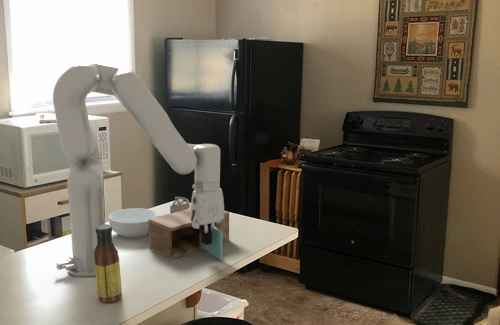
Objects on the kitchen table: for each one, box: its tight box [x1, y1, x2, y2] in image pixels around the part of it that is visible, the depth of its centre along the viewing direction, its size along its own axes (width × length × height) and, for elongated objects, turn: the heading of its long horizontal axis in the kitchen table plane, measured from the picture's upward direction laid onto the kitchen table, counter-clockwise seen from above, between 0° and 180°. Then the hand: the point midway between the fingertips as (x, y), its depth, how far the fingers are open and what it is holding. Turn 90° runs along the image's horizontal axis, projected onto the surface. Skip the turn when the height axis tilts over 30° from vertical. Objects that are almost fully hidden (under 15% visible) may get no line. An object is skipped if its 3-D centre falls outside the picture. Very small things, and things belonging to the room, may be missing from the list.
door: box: [202, 227, 225, 260], centre depth 177 cm, size 12×2×9 cm, turn 33°
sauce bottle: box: [94, 223, 123, 304], centre depth 145 cm, size 7×6×20 cm
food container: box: [169, 196, 191, 214], centre depth 201 cm, size 12×6×10 cm, turn 179°
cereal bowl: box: [108, 207, 159, 239], centre depth 195 cm, size 17×17×7 cm
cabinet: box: [148, 207, 230, 259], centre depth 185 cm, size 24×12×10 cm, turn 134°
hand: (206, 243), depth 173 cm, fingers closed
